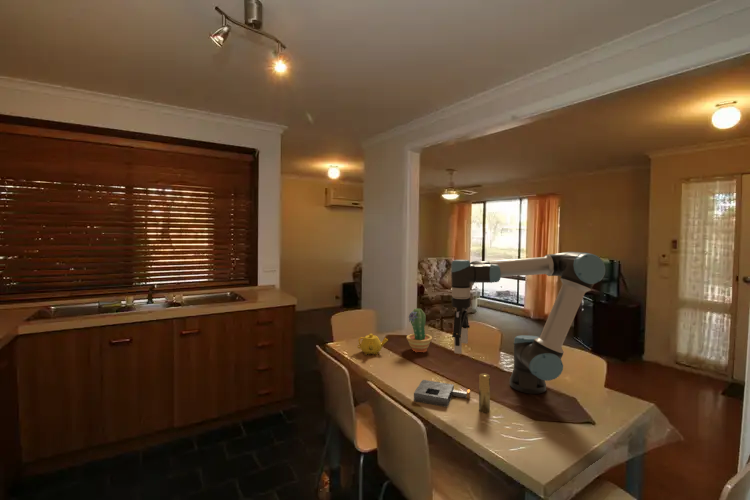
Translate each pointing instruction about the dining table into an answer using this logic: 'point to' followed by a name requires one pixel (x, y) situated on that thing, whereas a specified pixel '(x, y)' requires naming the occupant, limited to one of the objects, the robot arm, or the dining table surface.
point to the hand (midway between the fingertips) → (461, 348)
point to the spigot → (484, 393)
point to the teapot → (371, 344)
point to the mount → (434, 393)
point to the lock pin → (461, 393)
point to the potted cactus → (418, 331)
